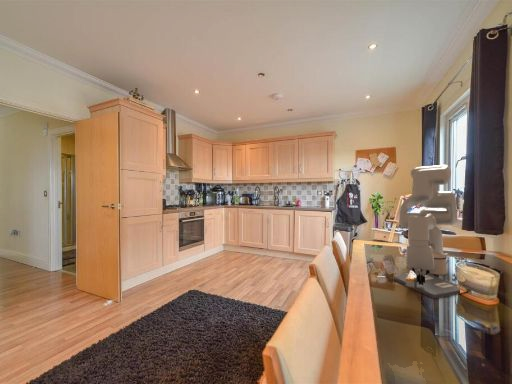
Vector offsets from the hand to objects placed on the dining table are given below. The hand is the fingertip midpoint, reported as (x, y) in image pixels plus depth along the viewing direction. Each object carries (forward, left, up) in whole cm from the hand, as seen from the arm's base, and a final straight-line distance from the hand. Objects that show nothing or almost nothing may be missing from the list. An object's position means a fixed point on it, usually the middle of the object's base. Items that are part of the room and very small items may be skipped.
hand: (421, 283), depth 101 cm
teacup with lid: (-24, -15, -3) cm, 28 cm away
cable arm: (-2, -6, 0) cm, 7 cm away
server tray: (-7, -3, -3) cm, 8 cm away
